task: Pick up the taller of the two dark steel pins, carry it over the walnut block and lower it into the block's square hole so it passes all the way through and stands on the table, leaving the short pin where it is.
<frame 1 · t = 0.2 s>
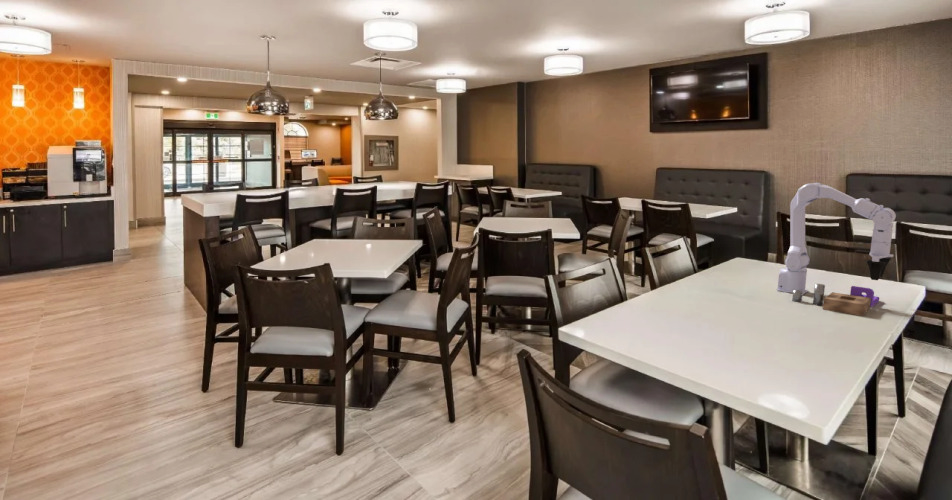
hand: (876, 278, 203), 10 cm above the table, tool pointing down, fingers open, 7 cm apart
hole block: (846, 308, 199), on the table
tall pin: (817, 304, 205), on the table
short pin: (796, 300, 210), on the table
bracket: (864, 303, 207), on the table
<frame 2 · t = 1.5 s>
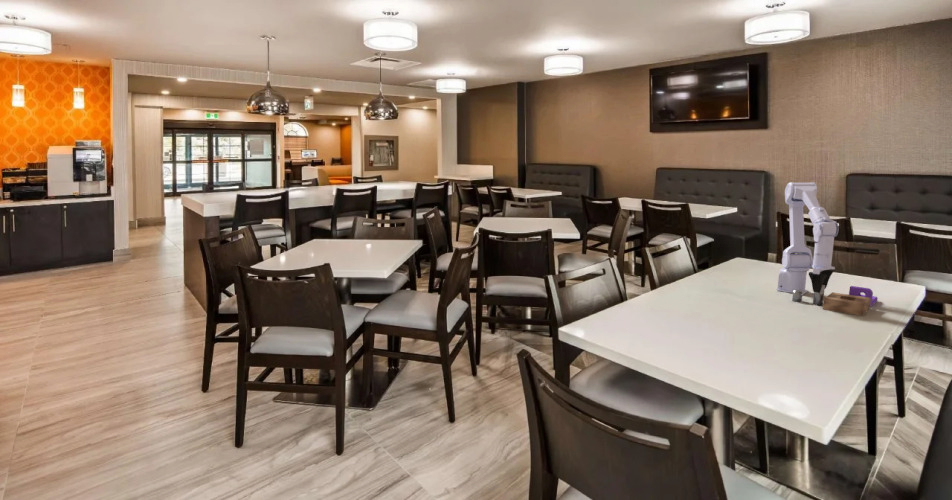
hand: (819, 290, 204), 5 cm above the table, tool pointing down, fingers open, 7 cm apart
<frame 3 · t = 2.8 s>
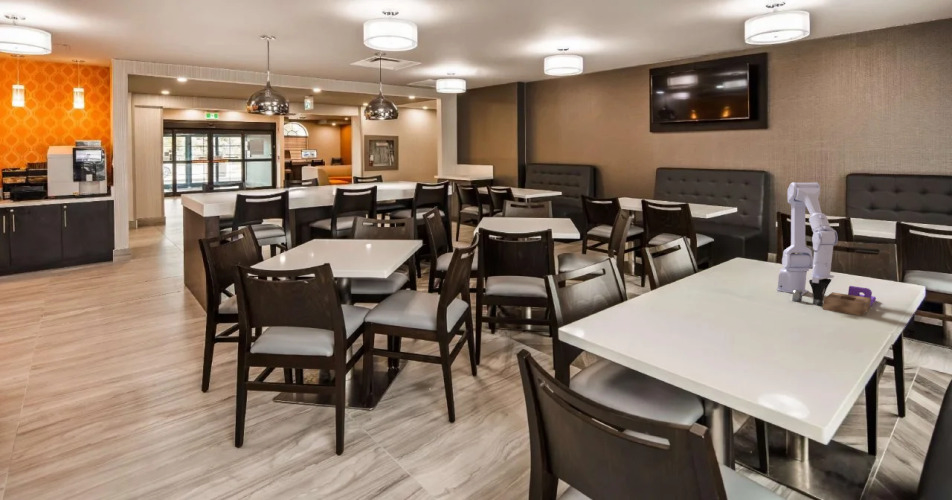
hand: (818, 298, 205), 2 cm above the table, tool pointing down, fingers closed on tall pin, 3 cm apart
tall pin: (817, 304, 205), on the table, touching gripper
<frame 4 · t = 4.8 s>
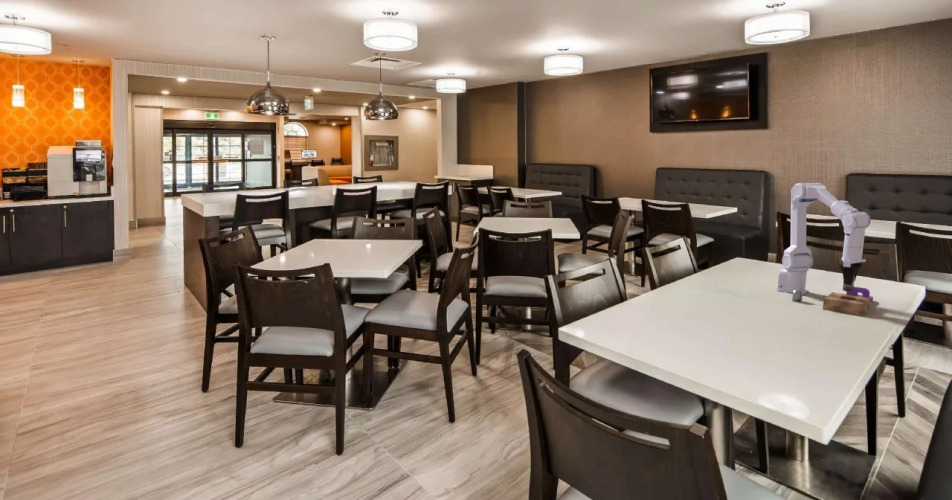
hand: (849, 283, 197), 9 cm above the table, tool pointing down, fingers closed on tall pin, 3 cm apart
tall pin: (847, 290, 198), point 7 cm above the table, touching gripper
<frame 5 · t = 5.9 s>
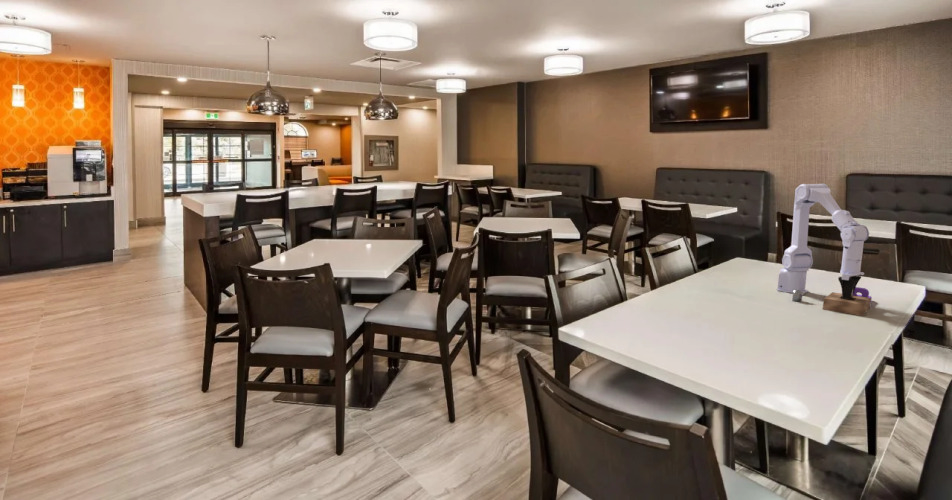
hand: (847, 296, 198), 5 cm above the table, tool pointing down, fingers closed on tall pin, 3 cm apart
tall pin: (846, 303, 198), point 2 cm above the table, touching gripper
when the fingers open (5 cm above the table, at t = 6.6 s): tall pin drops 2 cm, on the table.
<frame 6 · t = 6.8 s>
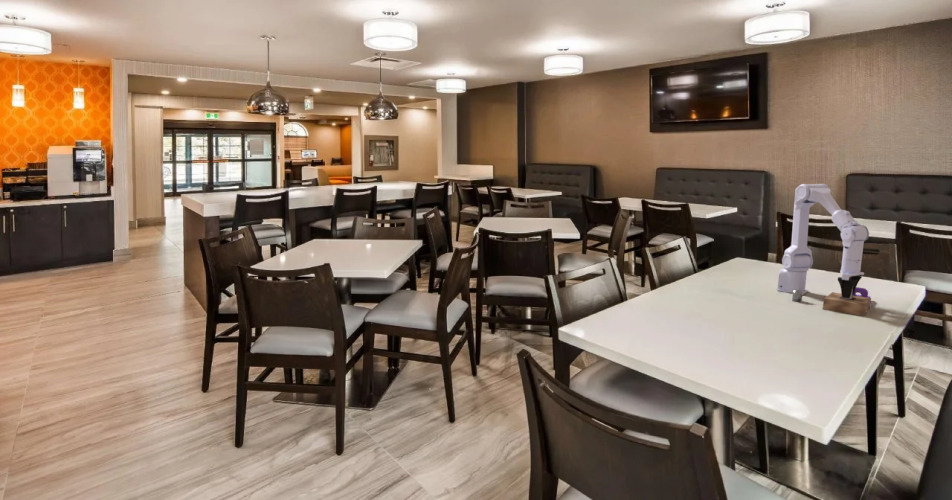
hand: (847, 296, 198), 5 cm above the table, tool pointing down, fingers open, 5 cm apart
tall pin: (845, 308, 199), on the table
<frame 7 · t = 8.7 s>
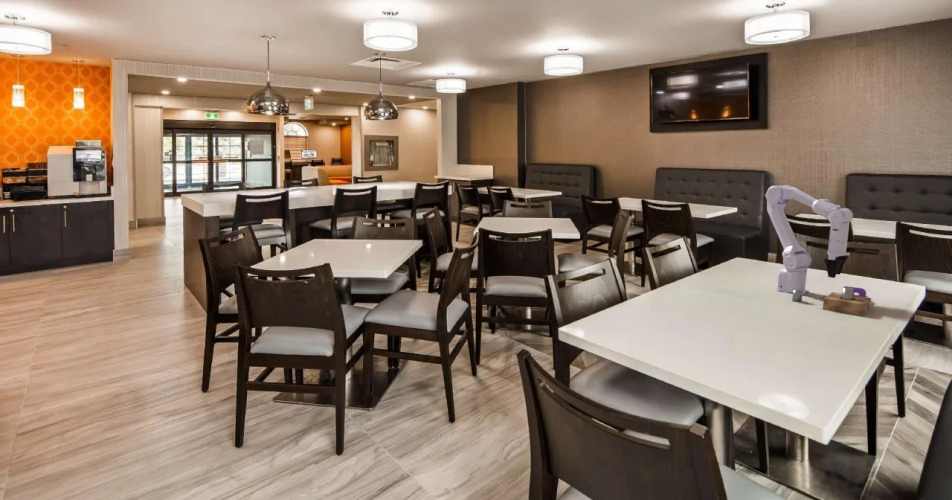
hand: (834, 275, 210), 9 cm above the table, tool pointing down, fingers open, 7 cm apart
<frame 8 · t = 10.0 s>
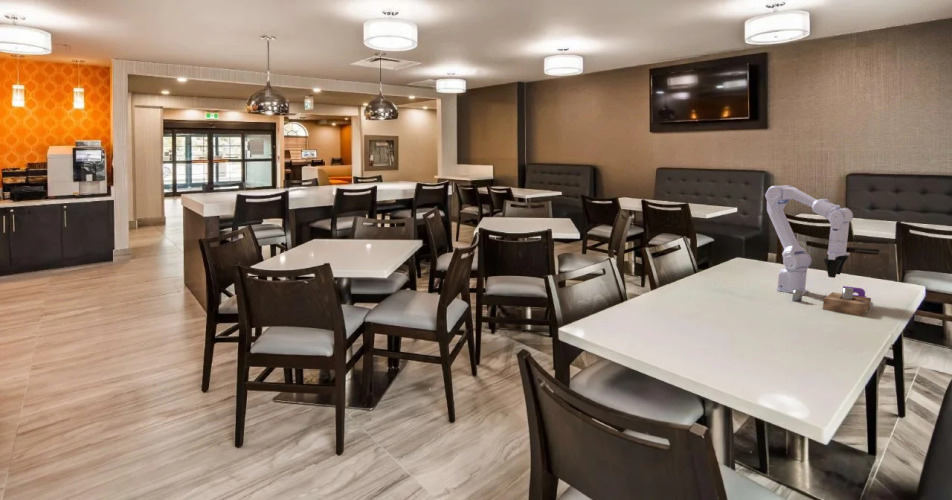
hand: (834, 275, 210), 9 cm above the table, tool pointing down, fingers open, 7 cm apart
at the end: tall pin 0.1 cm from the hole block (horizontally); tall pin on the table; short pin moved 0.1 cm from its start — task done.
